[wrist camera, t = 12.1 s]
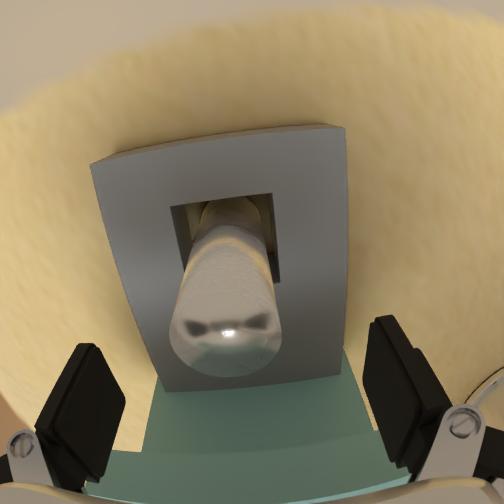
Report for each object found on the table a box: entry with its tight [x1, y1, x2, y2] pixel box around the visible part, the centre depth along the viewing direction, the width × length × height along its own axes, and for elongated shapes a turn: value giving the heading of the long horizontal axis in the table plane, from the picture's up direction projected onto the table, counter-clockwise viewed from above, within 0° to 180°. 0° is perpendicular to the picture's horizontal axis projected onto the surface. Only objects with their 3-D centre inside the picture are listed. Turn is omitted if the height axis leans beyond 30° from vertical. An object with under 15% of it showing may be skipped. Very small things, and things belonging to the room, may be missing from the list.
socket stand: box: [85, 124, 411, 504], centre depth 15 cm, size 16×20×18 cm
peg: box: [169, 196, 282, 377], centre depth 16 cm, size 4×4×12 cm
